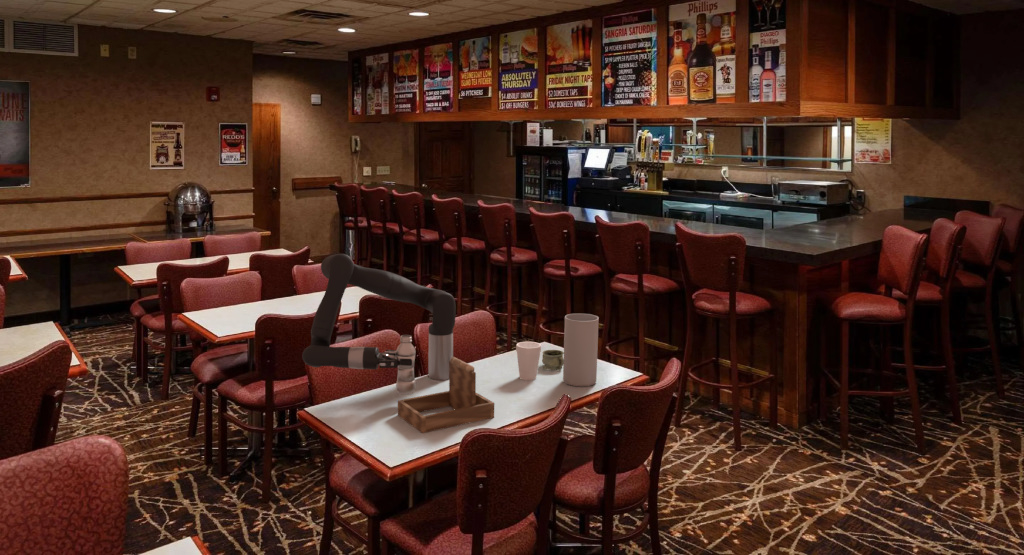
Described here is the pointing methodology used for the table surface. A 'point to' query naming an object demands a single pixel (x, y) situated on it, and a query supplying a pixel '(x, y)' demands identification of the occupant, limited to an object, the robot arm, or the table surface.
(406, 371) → the plastic bottle
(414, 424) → the wooden box
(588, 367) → the cylinder vase
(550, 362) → the vessel
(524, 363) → the foam cup
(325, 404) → the table surface
